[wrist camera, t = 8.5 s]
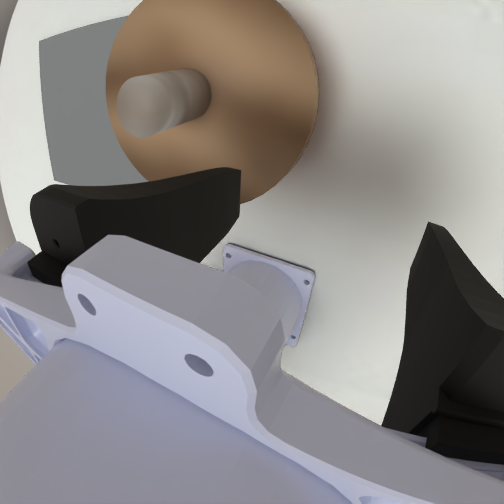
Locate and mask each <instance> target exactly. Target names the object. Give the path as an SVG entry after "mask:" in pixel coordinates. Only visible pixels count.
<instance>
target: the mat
mask: <svg viewBox="0 0 504 504" xmlns="http://www.w3.org/2000/svg"><path fill="white" fill-rule="evenodd" d="M127 17H128V16H125V17H120V18H115V19H111V20H107V21H103V22H99V23H95V24H91V25H87V26H84V27H80V28H77V29H74V30H70V31H67V32H64V33H61V34H58V35H55V36H52V37H49V38H47V39H44V40H41V41H39V59H40V79H41V92H42V103H43V113H44V121H45V129H46V136H47V142H48V149H49V155H50V160H51V166H52V171H53V176H54V180H55V181H58V182H62V183H65V184H68V185H75V186H110V185H123V184H134V183H142V182H149V181H147V180H146V179H145V178H144V177H143V176H142V175H141V174H140V173H139V172H138V171H137V169H136V168H135V167H134V166H133V164H132V163H131V162H130V161H129V159H128V158H127V156H126V154H125V153H124V151H123V150H122V148H121V146H120V144H119V142H118V140H117V138H116V135H115V133H114V130H113V128H112V124H111V121H110V118H109V113H108V108H107V102H106V71H107V64H108V60H109V55H110V52H111V49H112V46H113V43H114V40H115V38H116V36H117V34H118V32H119V30H120V28H121V27H122V25H123V23H124V22H125V20H126V19H127Z"/></svg>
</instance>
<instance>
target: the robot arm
mask: <svg viewBox="0 0 504 504" xmlns="http://www.w3.org/2000/svg"><path fill="white" fill-rule="evenodd" d="M240 189H241V170H239V169H234V168H229V167H220V168H213V169H207V170H203V171H198V172H194V173H189V174H185V175H180V176H175V177H170V178H166V179H161V180H155V181H149V182H142V183H134V184H123V185H110V186H75V185H58V184H54V185H50V186H48V187H46V188H44V189H43V190H41V191H39V192H38V193H36V194H34V195H33V197H32V199H31V202H30V215H31V219H32V223H33V226H34V229H35V232H36V235H37V238H38V241H39V244H40V247H41V250H42V251H41V252H40V253H39V254H37V255H35V253H34V252H33V251H32V250H31V249H30V248H29V247H27V246H25V245H24V244H22V243H21V242H16V243H15V244H14V245H12V246H11V247H9V248H8V249H7V250H5V251H4V252H3V253H1V254H0V326H1V327H2V328H3V329H4V330H5V332H6V333H7V334H8V335H9V336H10V337H11V338H12V339H13V340H14V342H15V343H16V344H17V345H18V346H19V347H20V348H21V349H22V350H23V351H24V353H25V354H26V355H27V356H28V357H29V358H30V359H31V360H32V361H33V362H34V363H35V364H36V365H35V366H34V367H33V368H32V369H31V370H30V371H29V372H28V374H27V375H26V376H25V377H24V378H23V379H22V380H21V381H20V382H19V383H18V384H17V385H16V386H15V387H14V388H13V389H12V390H11V391H10V392H9V394H8V395H7V396H6V397H5V398H4V399H3V400H2V401H1V402H0V504H504V298H503V297H502V296H501V295H500V294H499V293H498V292H497V291H496V290H495V289H494V288H493V287H492V286H491V285H490V284H489V283H488V282H487V280H486V279H485V278H484V277H483V276H482V275H481V273H480V272H479V271H478V270H477V268H476V267H475V266H474V265H473V264H472V262H471V261H470V260H469V258H468V257H467V256H466V254H465V253H464V252H463V250H462V249H461V248H460V246H459V245H458V244H457V242H456V241H455V240H454V238H453V237H452V236H451V234H450V233H449V232H448V231H447V230H446V229H445V228H444V227H442V226H439V225H437V224H434V223H431V222H428V224H427V227H426V230H425V232H424V235H423V238H422V240H421V243H420V245H419V248H418V251H417V253H416V256H415V258H414V261H413V263H412V265H411V268H410V274H409V280H408V287H407V300H406V320H405V335H404V344H403V351H402V356H401V360H400V365H399V369H398V373H397V377H396V381H395V384H394V388H393V392H392V395H391V398H390V402H389V405H388V408H387V411H386V414H385V417H384V420H383V423H382V425H381V426H380V425H378V424H376V423H374V422H372V421H371V420H369V419H367V418H365V417H363V416H361V415H359V414H357V413H356V412H354V411H352V410H350V409H348V408H346V407H345V406H343V405H341V404H339V403H337V402H336V401H334V400H332V399H330V398H329V397H327V396H325V395H323V394H322V393H320V392H318V391H316V390H315V389H313V388H311V387H310V386H308V385H306V384H305V383H303V382H301V381H300V380H298V379H296V378H295V377H293V376H291V375H290V374H288V373H286V372H285V371H283V370H282V369H281V368H280V359H281V354H282V350H283V348H284V346H285V344H286V345H289V346H292V347H294V346H296V345H297V343H298V339H299V335H300V332H301V328H302V325H303V321H304V317H305V314H306V310H307V306H308V302H309V298H310V295H311V291H312V287H313V283H314V279H315V274H314V273H313V272H312V271H310V270H308V269H305V268H302V267H298V266H295V265H292V264H289V263H286V262H283V261H280V260H277V259H274V258H271V257H268V256H265V255H262V254H259V253H256V252H253V251H250V250H247V249H244V248H241V247H238V246H235V245H232V244H227V245H226V246H225V247H224V264H223V272H222V271H219V270H217V269H214V268H211V267H208V266H206V265H203V264H200V262H201V261H202V260H203V259H204V258H205V257H206V256H207V255H208V254H209V253H210V252H211V250H212V249H213V248H214V247H215V246H216V245H217V244H218V243H219V242H220V241H221V240H222V239H223V238H224V237H225V236H226V234H227V233H228V232H229V231H230V229H231V228H232V226H233V225H234V223H235V222H236V220H237V219H238V217H239V212H240ZM228 253H229V254H230V255H231V256H230V255H229V254H228ZM306 280H308V281H309V282H307V281H306ZM293 335H294V336H293Z"/></svg>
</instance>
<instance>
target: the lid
mask: <svg viewBox="0 0 504 504" xmlns="http://www.w3.org/2000/svg"><path fill="white" fill-rule="evenodd" d="M318 100H319V86H318V74H317V69H316V65H315V60H314V57H313V54H312V51H311V48H310V46H309V43H308V41H307V39H306V37H305V35H304V34H303V32H302V30H301V28H300V26H299V25H298V24H297V22H296V21H295V20H294V19H293V17H292V16H291V15H290V14H289V12H288V11H287V10H286V9H284V8H283V7H282V6H281V5H280V4H279V3H278V2H277V1H276V0H143V1H142V2H141V3H140V4H139V5H138V6H137V7H136V8H135V9H134V10H133V11H132V13H131V14H130V15H129V16H128V17H127V19H126V20H125V22H124V23H123V25H122V27H121V28H120V30H119V32H118V34H117V36H116V38H115V40H114V43H113V46H112V49H111V52H110V55H109V60H108V64H107V71H106V102H107V108H108V113H109V118H110V121H111V124H112V128H113V130H114V133H115V135H116V138H117V140H118V142H119V144H120V146H121V148H122V150H123V151H124V153H125V154H126V156H127V158H128V159H129V161H130V162H131V163H132V164H133V166H134V167H135V168H136V169H137V171H138V172H139V173H140V174H141V175H142V176H143V177H144V178H145V179H146V180H147V181H155V180H161V179H166V178H170V177H175V176H180V175H185V174H189V173H194V172H198V171H203V170H207V169H213V168H220V167H229V168H234V169H239V170H241V189H240V204H242V203H245V202H248V201H251V200H253V199H255V198H257V197H259V196H261V195H262V194H264V193H265V192H267V191H268V190H270V189H271V188H272V187H274V186H275V185H276V184H277V183H278V182H279V181H280V180H281V179H282V178H283V177H284V176H285V175H286V174H287V173H288V172H289V171H290V170H291V169H292V168H293V166H294V165H295V164H296V163H297V161H298V160H299V159H300V157H301V155H302V153H303V152H304V150H305V148H306V146H307V144H308V142H309V139H310V137H311V134H312V132H313V129H314V125H315V121H316V116H317V112H318Z"/></svg>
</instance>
